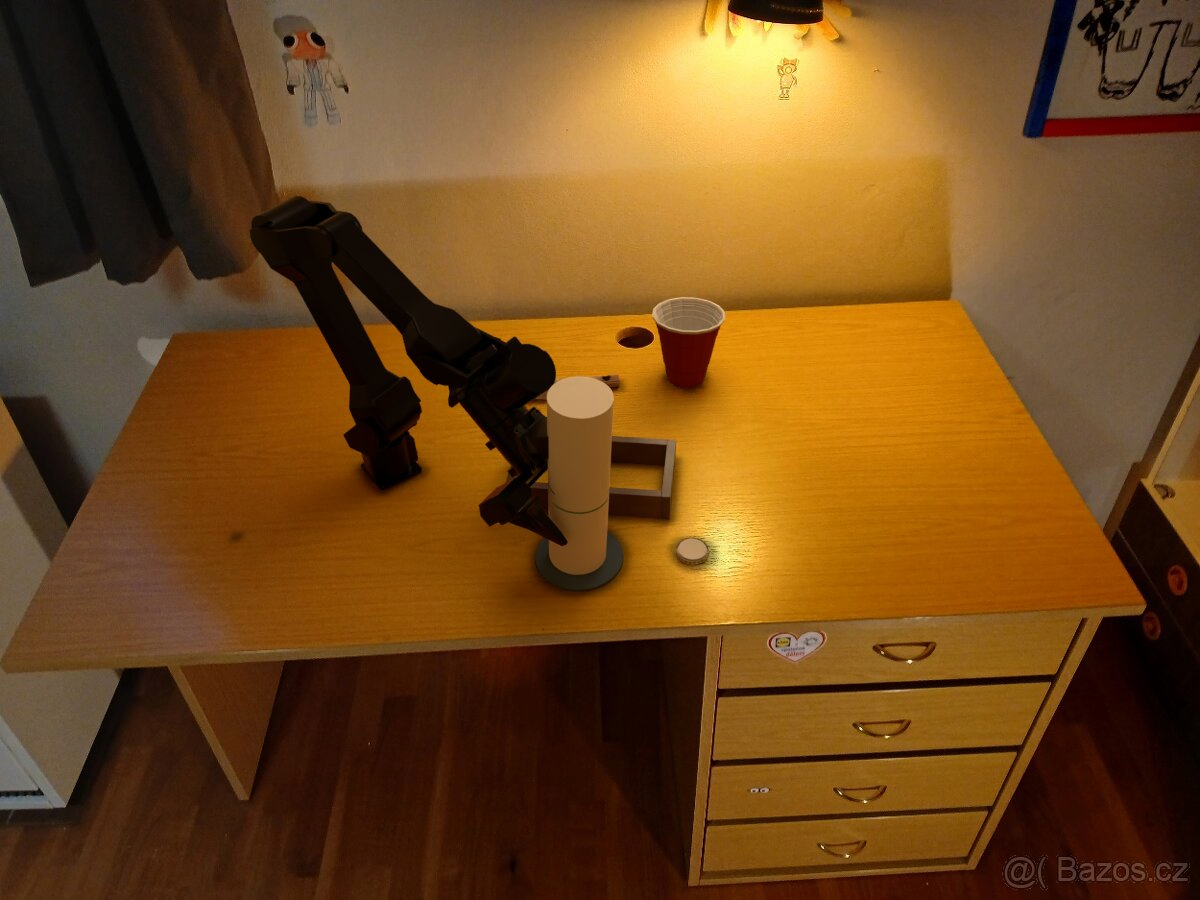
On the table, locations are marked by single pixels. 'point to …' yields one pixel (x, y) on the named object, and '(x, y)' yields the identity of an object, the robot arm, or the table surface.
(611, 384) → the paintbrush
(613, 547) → the coaster
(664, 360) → the plastic cup
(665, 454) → the rectangular frame
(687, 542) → the bottle cap
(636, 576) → the table surface
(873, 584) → the table surface
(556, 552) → the cylindrical container
